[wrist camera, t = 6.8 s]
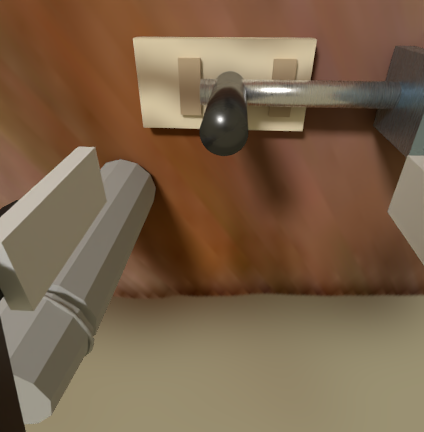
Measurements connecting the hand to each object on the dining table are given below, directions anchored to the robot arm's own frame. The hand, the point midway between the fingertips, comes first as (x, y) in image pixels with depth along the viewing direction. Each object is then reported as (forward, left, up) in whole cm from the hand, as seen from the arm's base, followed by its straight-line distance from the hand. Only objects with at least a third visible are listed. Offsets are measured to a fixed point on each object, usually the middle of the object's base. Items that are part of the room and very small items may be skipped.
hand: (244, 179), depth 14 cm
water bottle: (+12, -14, -21) cm, 28 cm away
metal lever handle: (0, +5, -20) cm, 21 cm away
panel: (0, -2, -21) cm, 21 cm away
